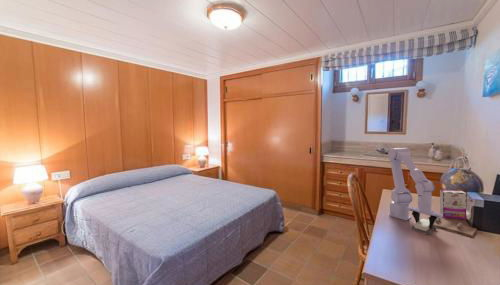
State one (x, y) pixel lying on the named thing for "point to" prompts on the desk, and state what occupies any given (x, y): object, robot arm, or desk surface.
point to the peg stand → (455, 227)
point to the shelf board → (422, 224)
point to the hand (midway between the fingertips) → (424, 226)
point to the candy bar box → (453, 204)
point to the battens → (424, 231)
